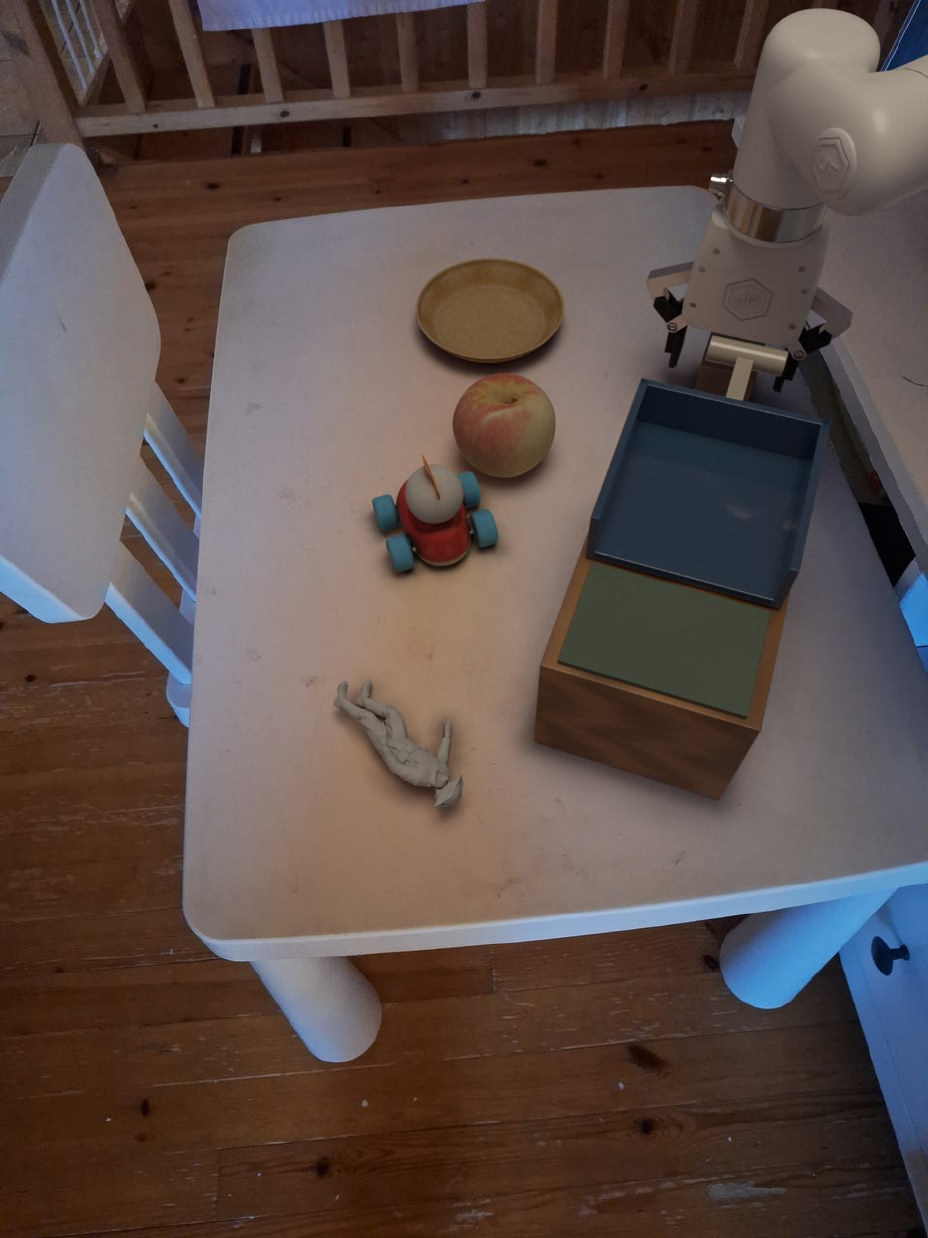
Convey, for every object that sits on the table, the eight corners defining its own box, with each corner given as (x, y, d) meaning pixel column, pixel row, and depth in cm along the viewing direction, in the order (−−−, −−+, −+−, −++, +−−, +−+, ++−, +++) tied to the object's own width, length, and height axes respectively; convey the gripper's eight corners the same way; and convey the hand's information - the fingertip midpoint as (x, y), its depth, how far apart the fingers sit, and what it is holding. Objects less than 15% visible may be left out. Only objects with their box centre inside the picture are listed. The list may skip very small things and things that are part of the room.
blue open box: (823, 407, 68) (845, 357, 64) (780, 610, 59) (802, 567, 55) (651, 369, 71) (661, 318, 66) (584, 556, 61) (591, 512, 57)
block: (753, 381, 86) (766, 340, 82) (743, 418, 84) (756, 377, 80) (701, 370, 87) (711, 328, 83) (689, 405, 85) (700, 365, 81)
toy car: (469, 480, 81) (466, 400, 73) (502, 556, 77) (502, 479, 68) (371, 507, 80) (356, 428, 71) (398, 585, 75) (385, 511, 67)
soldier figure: (396, 678, 72) (507, 744, 65) (380, 733, 73) (487, 805, 66) (322, 680, 66) (434, 753, 59) (305, 740, 67) (413, 820, 60)
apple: (440, 475, 81) (435, 412, 75) (482, 410, 86) (481, 344, 79) (529, 507, 79) (532, 444, 72) (567, 438, 83) (574, 373, 76)
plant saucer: (575, 289, 94) (577, 268, 92) (546, 388, 87) (548, 368, 84) (439, 270, 96) (437, 249, 94) (399, 365, 89) (397, 345, 87)
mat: (769, 614, 59) (770, 610, 58) (745, 719, 55) (747, 716, 55) (591, 565, 61) (591, 562, 61) (557, 663, 57) (557, 660, 57)
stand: (775, 553, 76) (818, 457, 66) (719, 800, 65) (760, 731, 55) (613, 511, 79) (630, 413, 68) (533, 741, 68) (539, 665, 57)
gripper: (653, 208, 69) (624, 376, 83) (887, 254, 65) (814, 420, 80) (676, 152, 72) (644, 322, 87) (899, 193, 69) (827, 363, 83)
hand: (726, 369), depth 83 cm, fingers open, 9 cm apart
